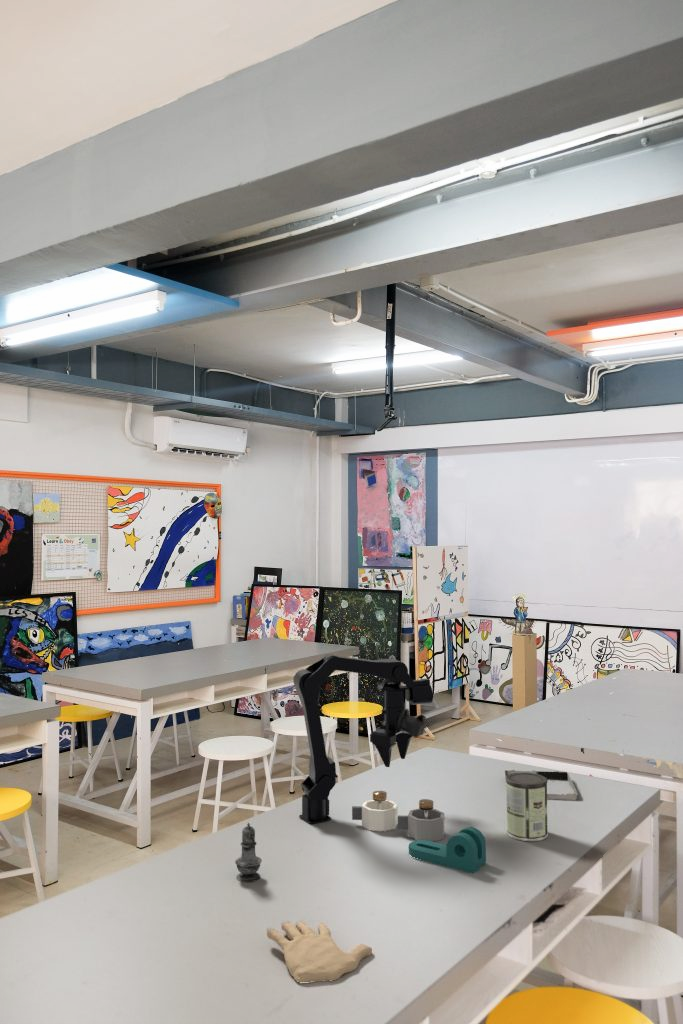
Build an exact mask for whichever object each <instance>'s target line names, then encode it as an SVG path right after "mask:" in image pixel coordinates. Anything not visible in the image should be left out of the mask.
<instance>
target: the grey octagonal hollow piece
mask: <svg viewBox="0 0 683 1024" xmlns="http://www.w3.org/2000/svg"><path fill="white" fill-rule="evenodd" d="M445 827H446V826H445V812H443V811H442V810H441V811H440V810H438V809H436V808H433V809H432V810H428V819H424V810H421V809H420V808H419V807H418V808H415V809H411V810H409V811H408V814H407V815H398V824H397V830H399V831H400V830H401V831H403V830H405V831H407V836H408V835H409V836H410V837H409V836H408V837H409V838H411V837H412V838H414V839H415V840H414V839H413V840H414V841H416V840H426V841H431V842H437V841H440V840H444V837H445V834H446V833H445V832H446V831H445V829H446V828H445ZM412 838H411V839H412Z"/></svg>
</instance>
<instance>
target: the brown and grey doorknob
mask: <svg viewBox="0 0 683 1024" xmlns="http://www.w3.org/2000/svg"><path fill="white" fill-rule="evenodd" d="M387 795H388V793H387V792H386V791H384V790H375V791H374V790H373V792H372V800H375V801H378V810H381V801H385V800H388V799H387Z"/></svg>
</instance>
